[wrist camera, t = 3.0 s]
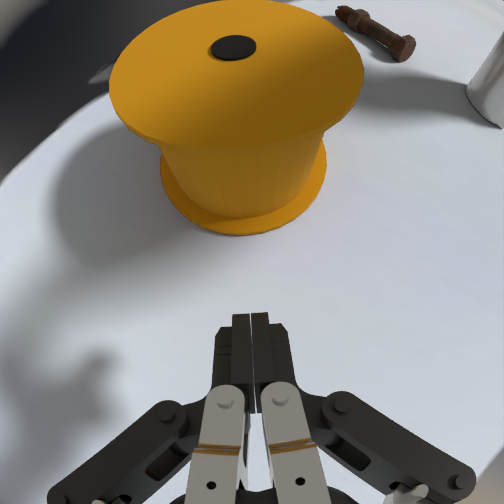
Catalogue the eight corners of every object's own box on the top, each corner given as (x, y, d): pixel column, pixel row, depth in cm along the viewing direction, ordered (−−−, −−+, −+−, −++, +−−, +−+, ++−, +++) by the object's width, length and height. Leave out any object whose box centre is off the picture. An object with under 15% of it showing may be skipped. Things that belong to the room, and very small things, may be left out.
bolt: (339, 24, 41) (403, 66, 37) (325, 18, 38) (395, 61, 34) (352, 2, 37) (419, 42, 33) (339, -5, 33) (412, 35, 30)
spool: (350, 140, 31) (392, 42, 17) (270, 270, 28) (284, 208, 13) (223, 82, 34) (211, -13, 20) (131, 183, 30) (64, 96, 16)
